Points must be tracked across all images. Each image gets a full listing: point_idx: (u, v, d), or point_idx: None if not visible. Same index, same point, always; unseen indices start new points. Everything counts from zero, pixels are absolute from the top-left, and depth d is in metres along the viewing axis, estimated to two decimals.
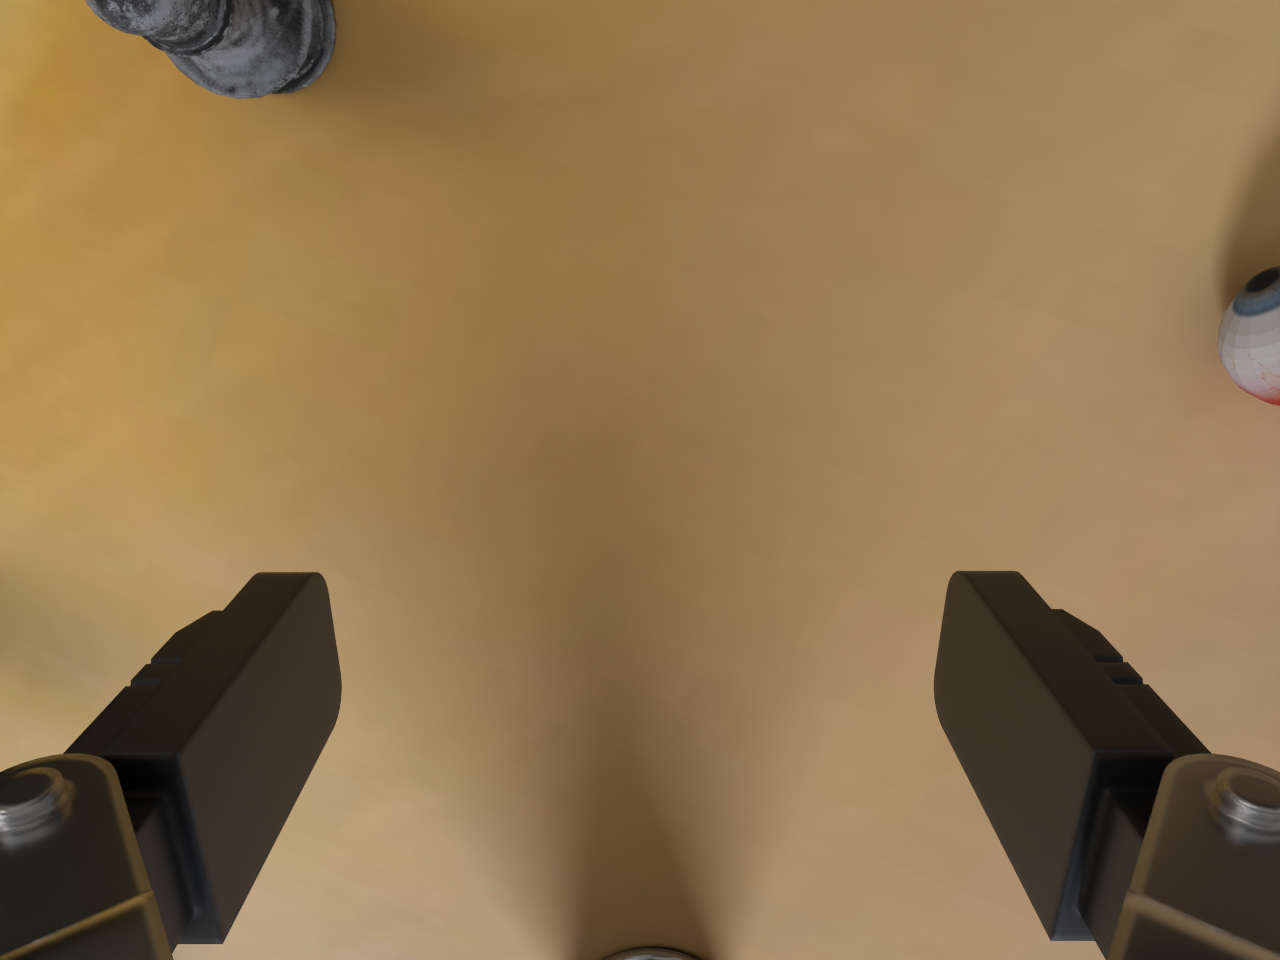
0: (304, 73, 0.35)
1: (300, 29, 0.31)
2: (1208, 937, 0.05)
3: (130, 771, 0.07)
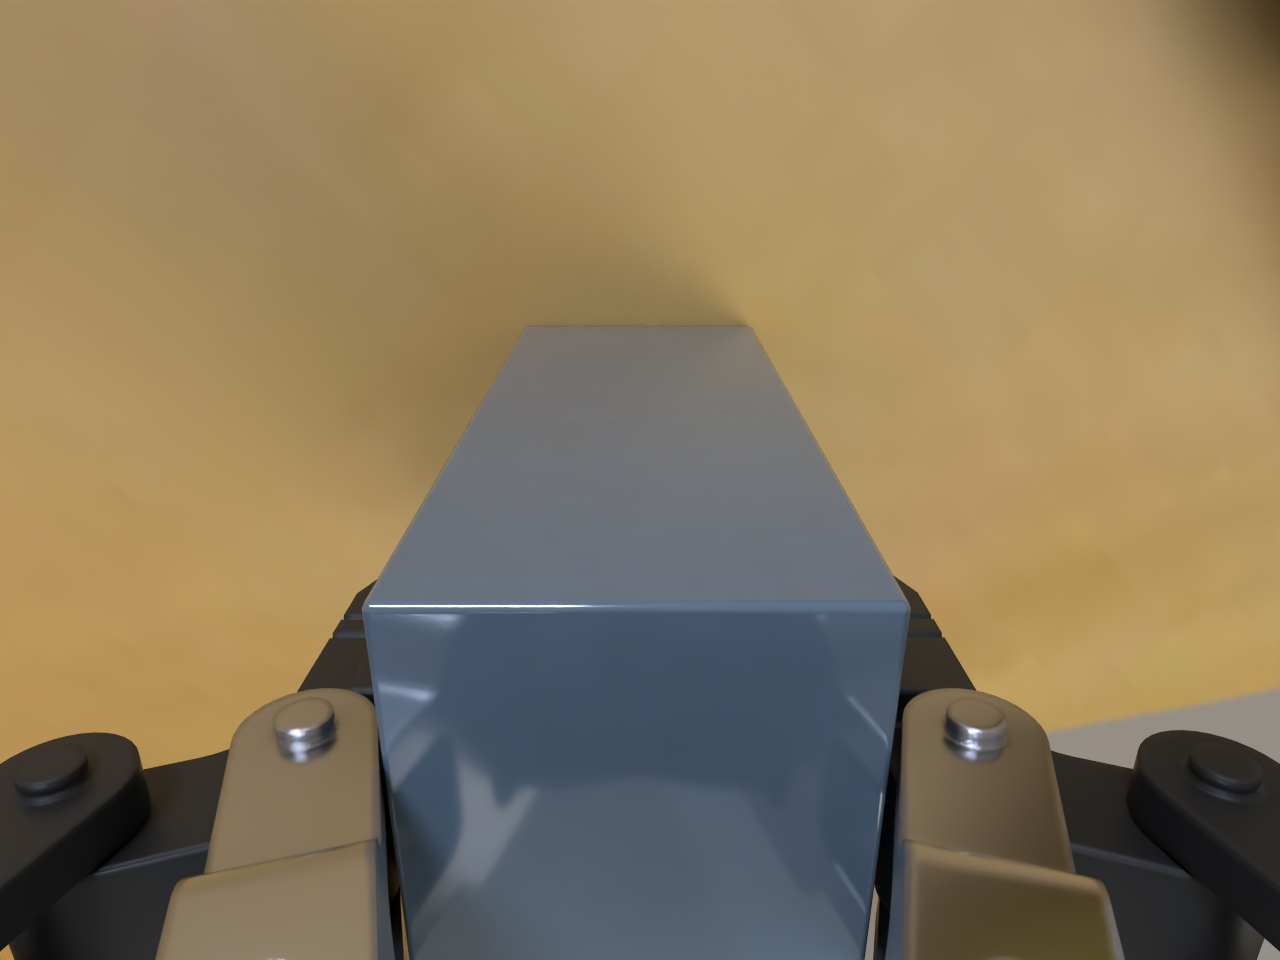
0: None
1: None
2: (976, 866, 0.06)
3: None
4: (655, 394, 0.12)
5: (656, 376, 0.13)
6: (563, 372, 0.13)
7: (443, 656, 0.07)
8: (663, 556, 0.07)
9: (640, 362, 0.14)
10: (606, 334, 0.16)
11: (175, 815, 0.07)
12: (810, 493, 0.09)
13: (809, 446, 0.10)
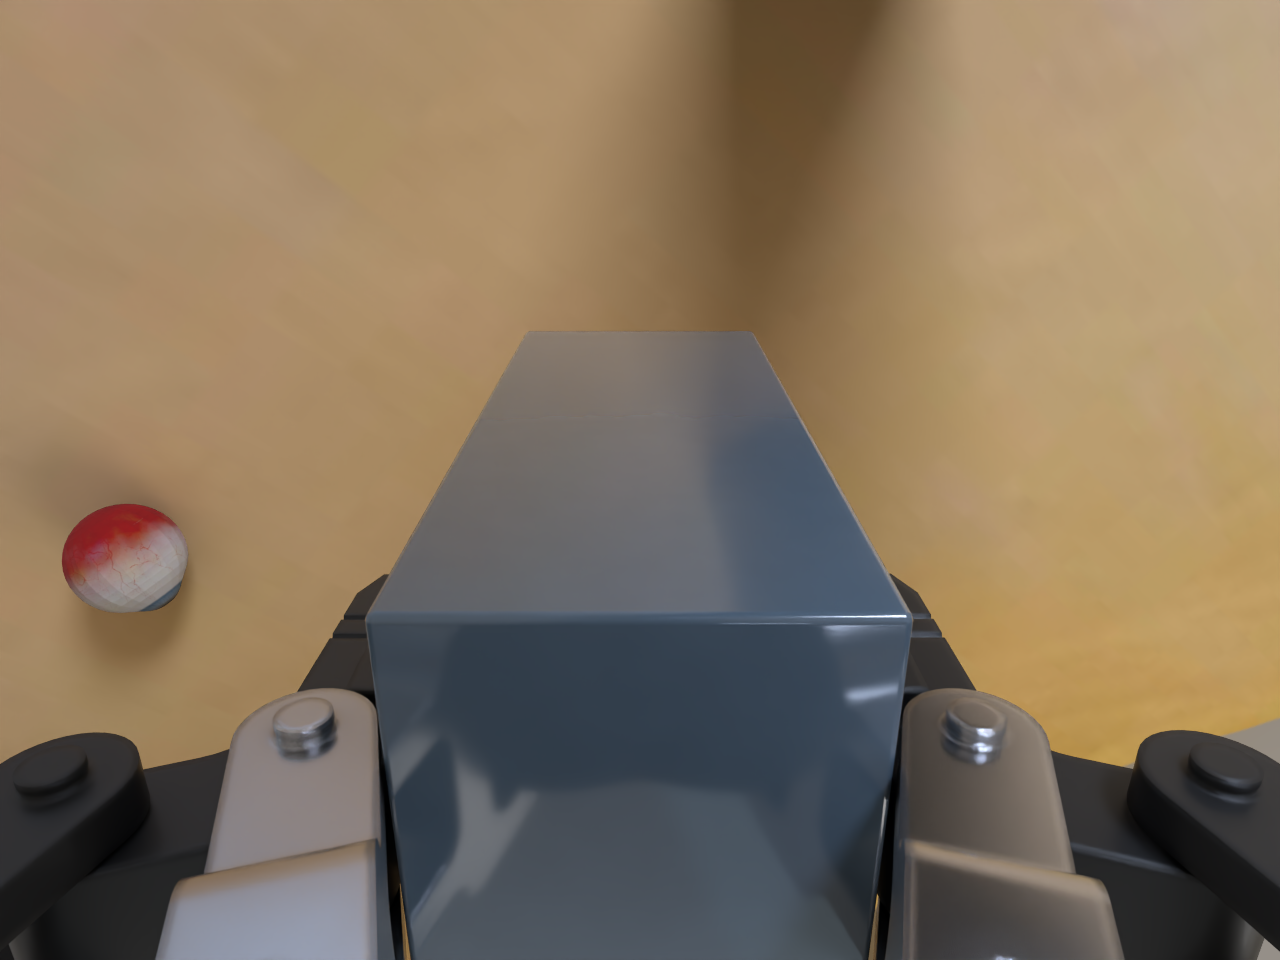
0: None
1: None
2: (976, 866, 0.06)
3: None
4: (656, 401, 0.12)
5: (658, 382, 0.13)
6: (564, 378, 0.13)
7: (446, 668, 0.07)
8: (666, 565, 0.07)
9: (641, 368, 0.14)
10: (607, 339, 0.16)
11: (175, 815, 0.07)
12: (811, 501, 0.09)
13: (811, 454, 0.10)
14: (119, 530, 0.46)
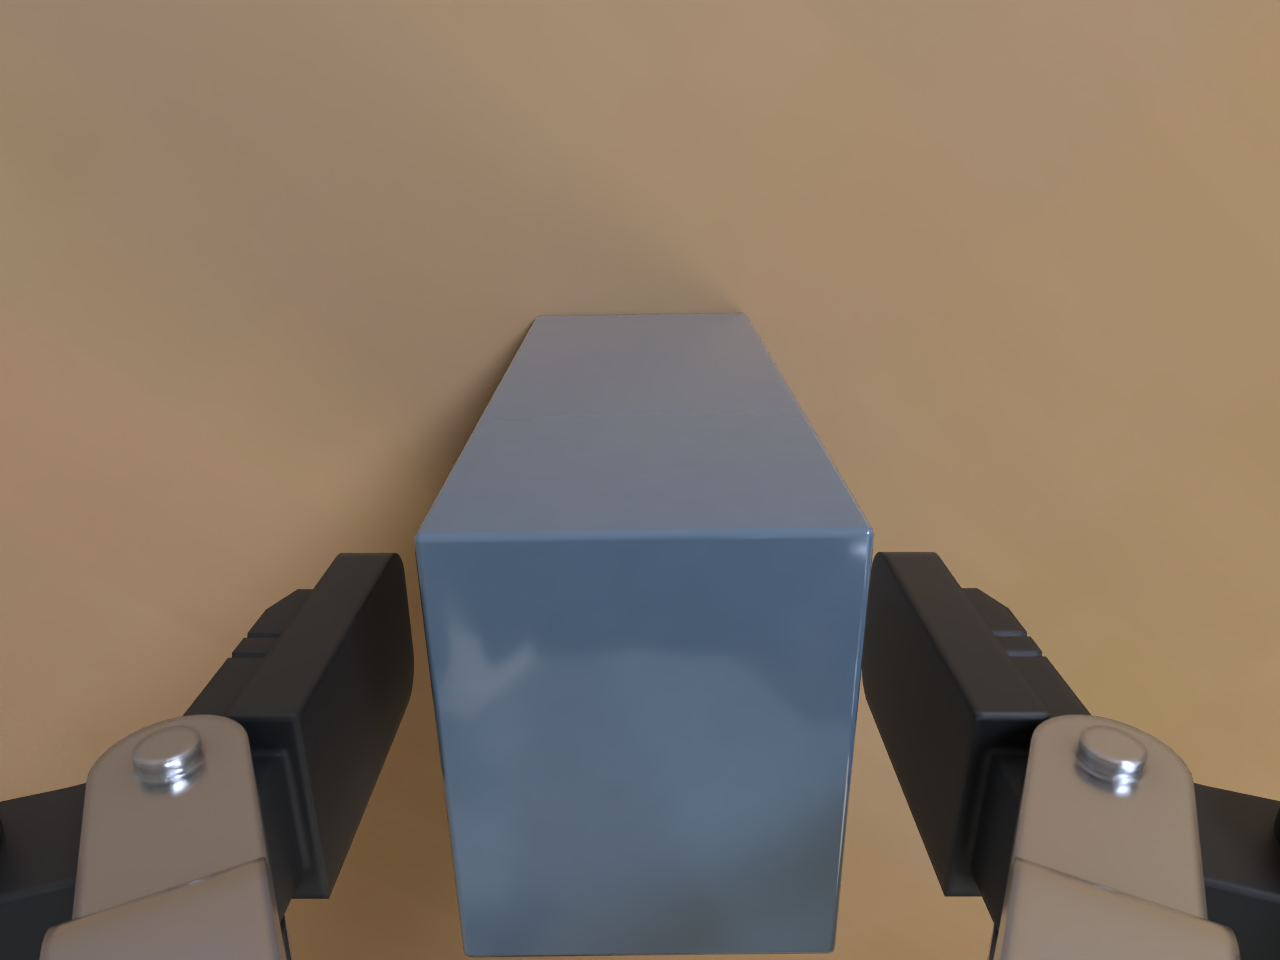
0: None
1: None
2: (1090, 894, 0.05)
3: (252, 732, 0.08)
4: (657, 372, 0.13)
5: (658, 356, 0.14)
6: (573, 354, 0.14)
7: (482, 579, 0.08)
8: (666, 496, 0.09)
9: (643, 345, 0.15)
10: (611, 321, 0.17)
11: (27, 852, 0.07)
12: (793, 448, 0.10)
13: (794, 412, 0.11)
14: None
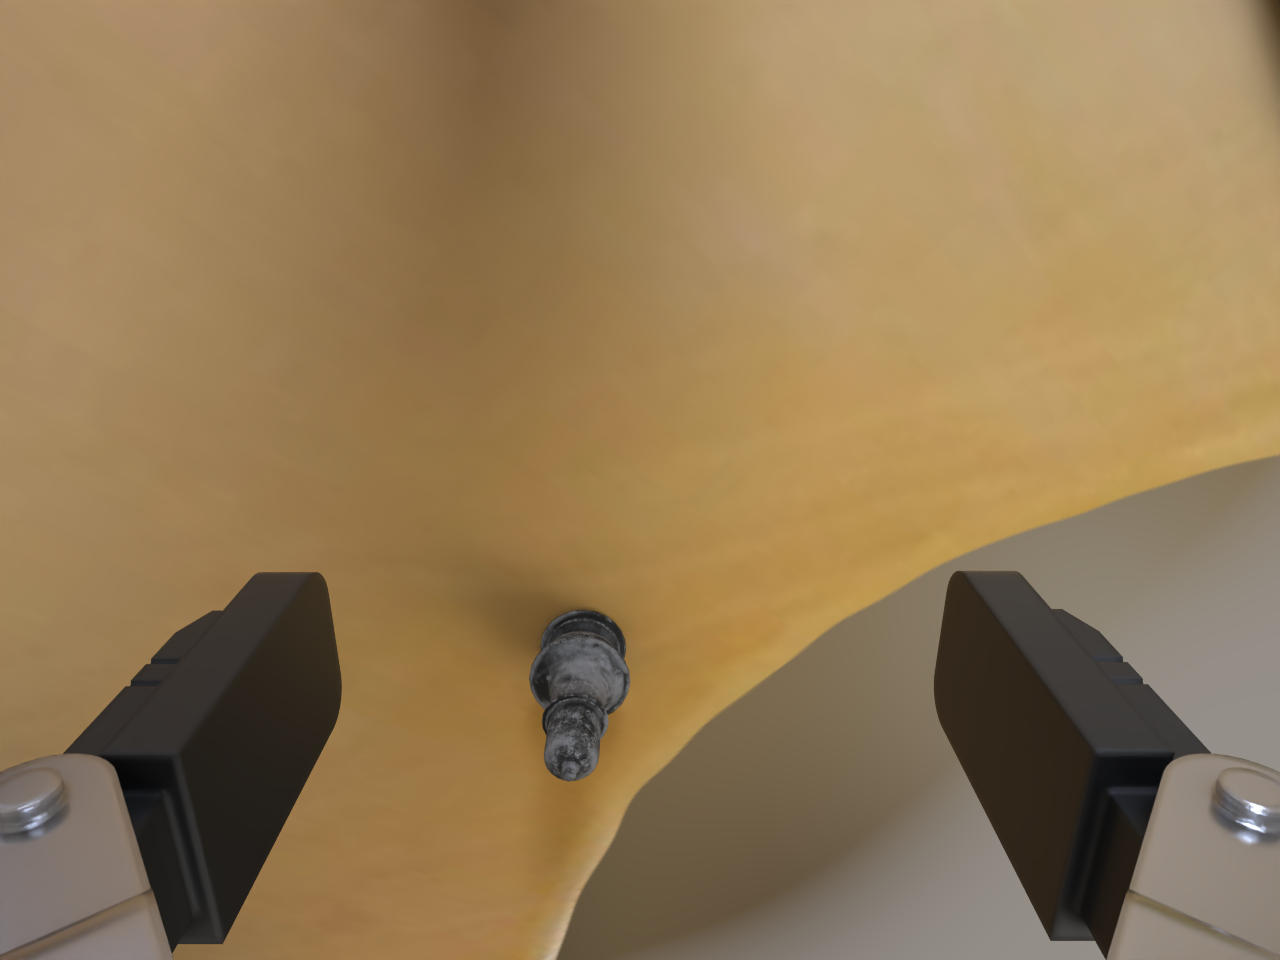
0: (570, 619, 0.53)
1: (540, 662, 0.50)
2: (1208, 937, 0.05)
3: (130, 772, 0.07)
4: None
5: None
6: None
7: None
8: None
9: None
10: None
11: None
12: None
13: None
14: None
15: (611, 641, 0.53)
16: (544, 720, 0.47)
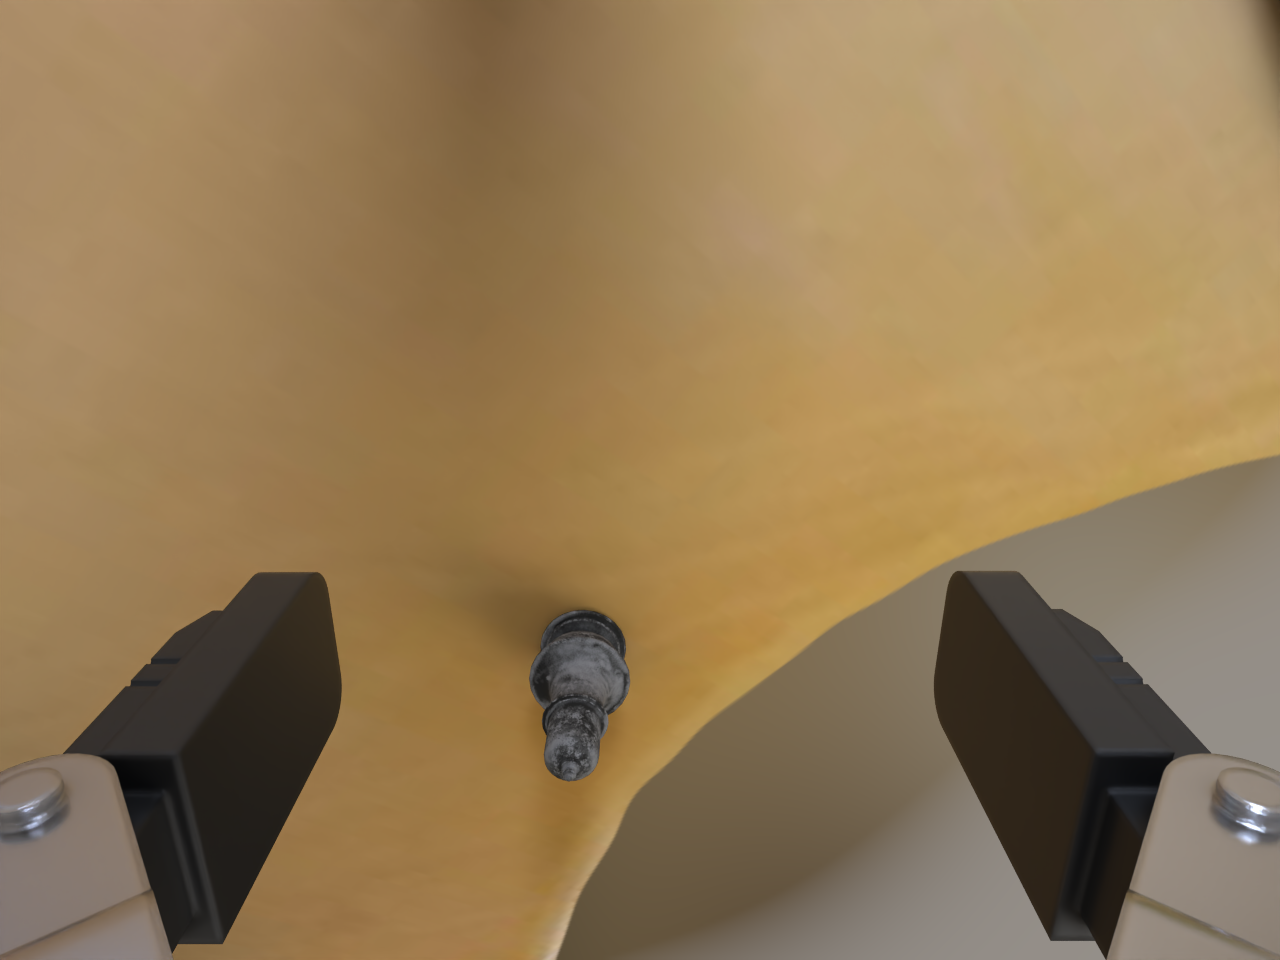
0: (570, 619, 0.53)
1: (540, 662, 0.50)
2: (1208, 937, 0.05)
3: (130, 772, 0.07)
4: None
5: None
6: None
7: None
8: None
9: None
10: None
11: None
12: None
13: None
14: None
15: (611, 641, 0.53)
16: (544, 720, 0.47)
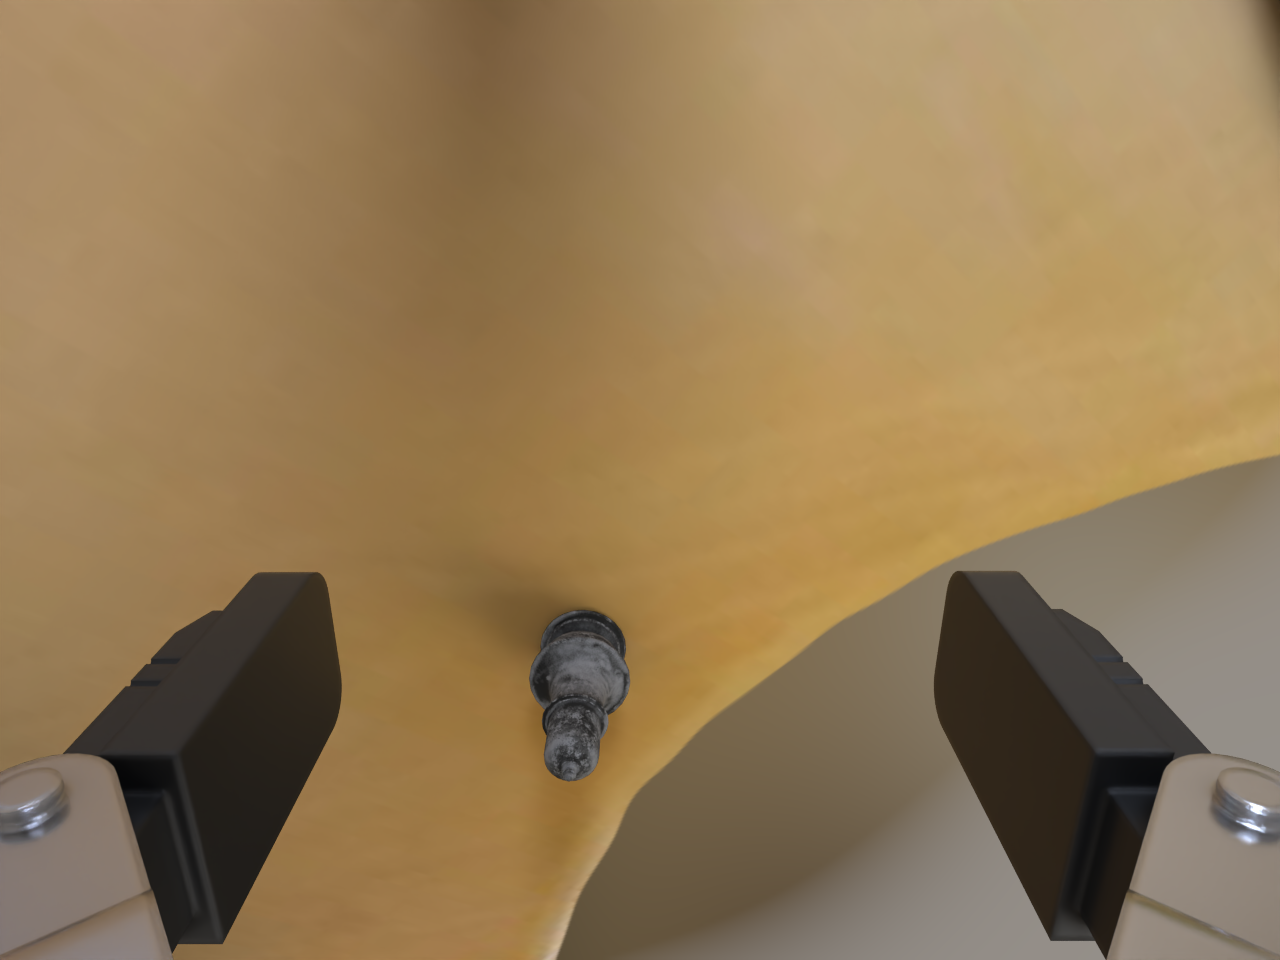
0: (570, 619, 0.53)
1: (540, 662, 0.50)
2: (1208, 937, 0.05)
3: (130, 772, 0.07)
4: None
5: None
6: None
7: None
8: None
9: None
10: None
11: None
12: None
13: None
14: None
15: (611, 641, 0.53)
16: (544, 720, 0.47)
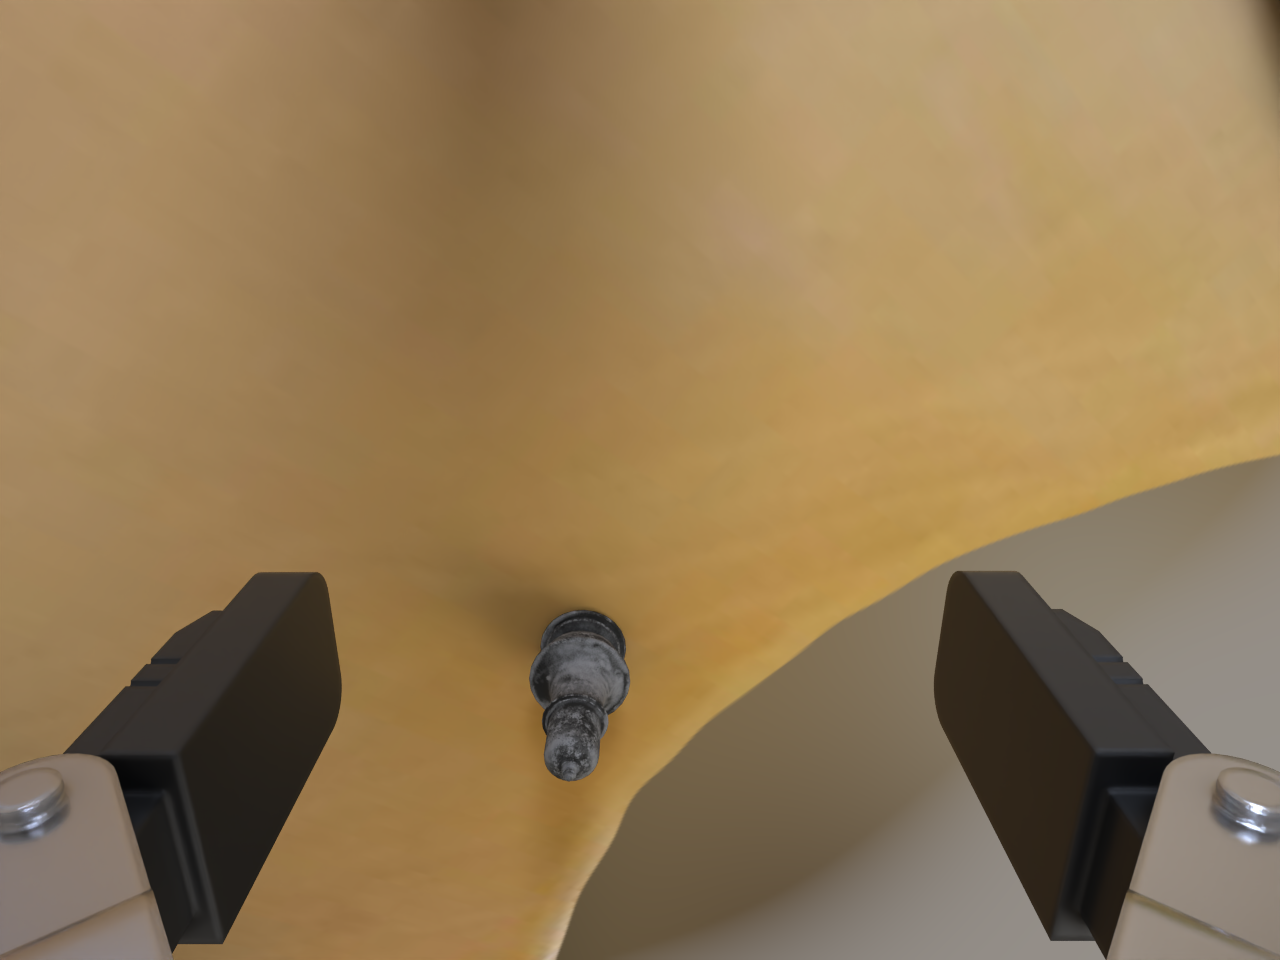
0: (570, 619, 0.53)
1: (540, 662, 0.50)
2: (1208, 937, 0.05)
3: (130, 772, 0.07)
4: None
5: None
6: None
7: None
8: None
9: None
10: None
11: None
12: None
13: None
14: None
15: (611, 641, 0.53)
16: (544, 720, 0.47)
